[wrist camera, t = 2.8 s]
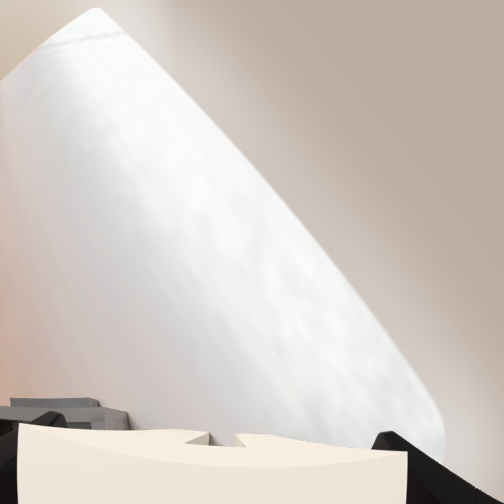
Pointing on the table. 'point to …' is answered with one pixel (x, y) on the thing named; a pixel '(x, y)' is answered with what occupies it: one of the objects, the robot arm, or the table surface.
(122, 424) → the grey tray with tab
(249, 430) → the table surface
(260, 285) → the table surface
